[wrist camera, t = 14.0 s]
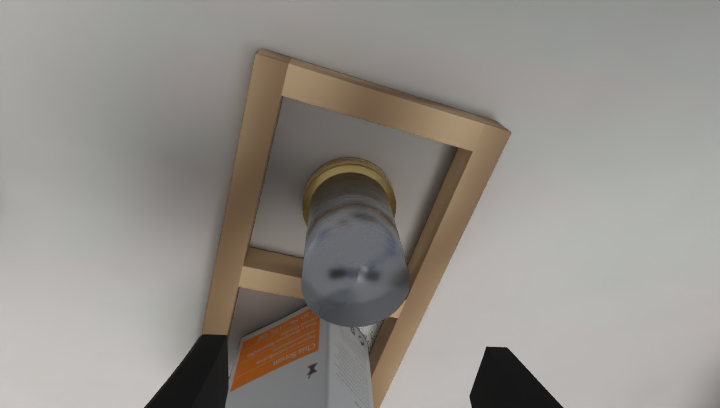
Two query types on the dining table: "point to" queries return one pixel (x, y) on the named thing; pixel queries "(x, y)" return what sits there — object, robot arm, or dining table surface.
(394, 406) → the dining table surface
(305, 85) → the rack
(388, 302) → the brass-collared grey cylinder
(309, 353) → the skincare box
